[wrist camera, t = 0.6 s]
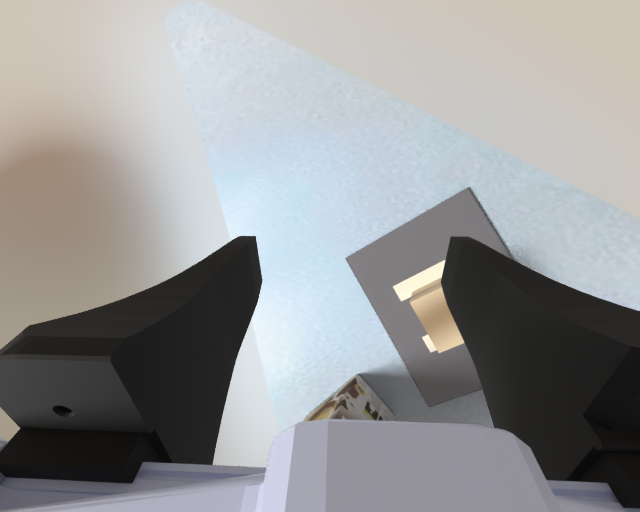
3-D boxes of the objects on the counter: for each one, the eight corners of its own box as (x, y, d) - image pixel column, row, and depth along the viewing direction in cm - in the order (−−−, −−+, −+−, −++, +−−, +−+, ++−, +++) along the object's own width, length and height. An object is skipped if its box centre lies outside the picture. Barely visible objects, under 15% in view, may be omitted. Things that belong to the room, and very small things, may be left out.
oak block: (485, 314, 30) (496, 330, 25) (437, 334, 32) (438, 353, 27) (458, 269, 30) (463, 276, 26) (412, 291, 32) (409, 302, 27)
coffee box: (356, 370, 35) (302, 479, 20) (397, 416, 34) (372, 568, 19) (304, 414, 38) (221, 539, 23) (340, 458, 37) (279, 620, 21)
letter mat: (571, 355, 28) (572, 356, 28) (429, 406, 33) (429, 407, 33) (467, 187, 30) (467, 187, 30) (345, 258, 34) (345, 258, 34)
